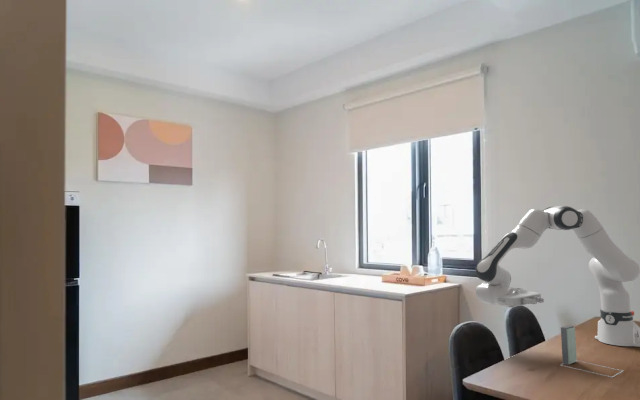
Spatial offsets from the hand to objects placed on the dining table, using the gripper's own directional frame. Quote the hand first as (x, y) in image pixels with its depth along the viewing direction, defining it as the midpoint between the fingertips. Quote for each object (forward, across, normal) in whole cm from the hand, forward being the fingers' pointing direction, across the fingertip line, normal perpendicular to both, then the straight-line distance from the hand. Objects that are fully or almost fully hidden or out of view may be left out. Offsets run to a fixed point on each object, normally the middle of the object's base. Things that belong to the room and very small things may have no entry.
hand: (539, 301), depth 184 cm
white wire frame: (+20, -2, +23) cm, 30 cm away
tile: (+12, -2, +22) cm, 25 cm away
